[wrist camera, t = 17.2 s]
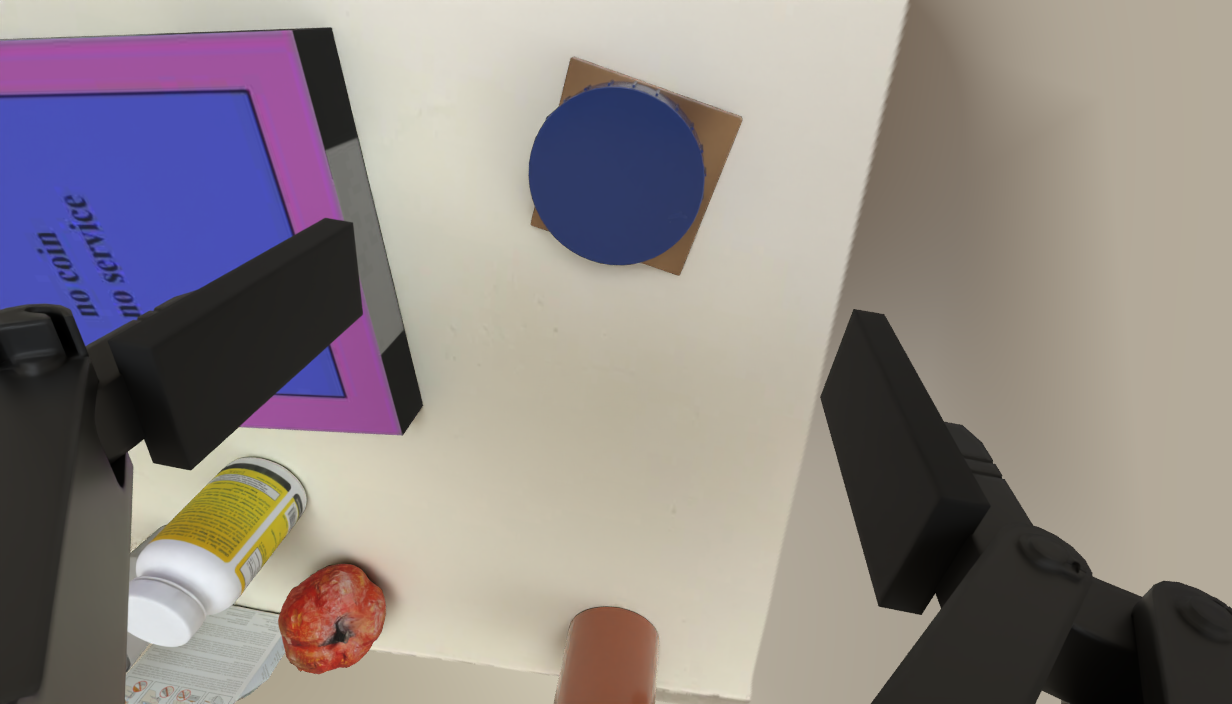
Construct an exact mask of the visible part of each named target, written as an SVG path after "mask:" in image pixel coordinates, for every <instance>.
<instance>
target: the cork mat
mask: <svg viewBox="0 0 1232 704" xmlns="http://www.w3.org/2000/svg"><path fill="white" fill-rule="evenodd" d="M611 80H614V81H626V82H633V83H634V82H635V81H638V84H641V85H645V86H648V87H650V88H652V89H655V90H658V89H659V90H660V92H661V93H662V94H664V95H665V96H667V97H668V98H670V99H671V100H672V101H673V102H674V103H676V104H679V107H680V108H681V110H682V111H683V112H684V113H685V114H686V115H687V117H688V118H689V120H690V121H691V123H692V122H693V123H694V128H695V130H696V132H697V134H698V137H699V140H700V143H701V144H703V156H704V167H706V176H705V182H704V199H703V200H702V202H701V205H700V208H699V211H698V214H697V216H696V218H695V220H694V222H693V223H692V225H691V226H690V228H689V230H688V231H687V232H686V234H685V235H684V236H683V237H682V238H681V239H680V240H679V241H678V242H677V243H676V244H675V245H674V246H673V247H671V248H670V249H668V250H667V251H666V252H664V253H663V254H661V255H659V256H657V257H655V258H653V259H650V260H647V261H644V262H640V263H643V264H646V265H649V266H652V267H655V268H658V269H661V270H664V271H667V272H669V273H672V274H675V275H678V276H679V275H680V273H681V271H682V268H683V266H684V263H685V261H686V258H687V256H688V253H689V251H690V249H691V246H692V244H693V241H694V239H695V236H696V234H697V231H698V229H699V226H700V224H701V221H702V219H703V216H704V214H705V211H706V209H707V206H708V204H709V202H710V199H711V197H712V194H713V192H714V189H715V187H716V184H717V182H718V179H719V177H720V174H721V172H722V169H723V167H724V164H725V162H726V159H727V157H728V155H729V152H730V150H731V147H732V145H733V142H734V140H735V137H736V135H737V132H738V130H739V127H740V125H741V122H742V117H741V116H738V115H735V114H733V113H730V112H727V111H724V110H721V109H719V108H716V107H713V106H710V105H708V104H705V103H702V102H699V101H696V100H694V99H691V98H688V97H685V96H682V95H680V94H677V93H674V92H671V91H669V90H666V89H663V88H660V87H657V86H655V85H652V84H649V83H646V82H643V81H641V80H638V79H635V78H632V77H630V76H627V75H624V74H621V73H618V72H616V71H613V70H610V69H607V68H604V67H602V66H599V65H596V64H593V63H591V62H588V61H585V60H582V59H579V58H577V57H571V59H570V63H569V67H568V71H567V75H566V80H565V84H564V88H563V92H562V96H561V100H560V104H559V106H560V105H561V104H563V103H564V102H563V100H564V99H566V98H567V97H569V96H571V97H572V96H574V95H575V94H577V93H578V92H580V91H582V90H584V88H585V87H587V86H588V85H590V84H591V86H593V85H597V84H600V83H606V82H610V81H611ZM531 225H532V226H535V227H538V228H541V229H544V230H546V231H549V230H548V229H547V228H546V226H545V224H544V223H543V221H542V220H541V218H540V216H539V214H538V212H537V210H536V208H534V212H533V216H532V220H531ZM549 232H550V231H549Z"/></svg>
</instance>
